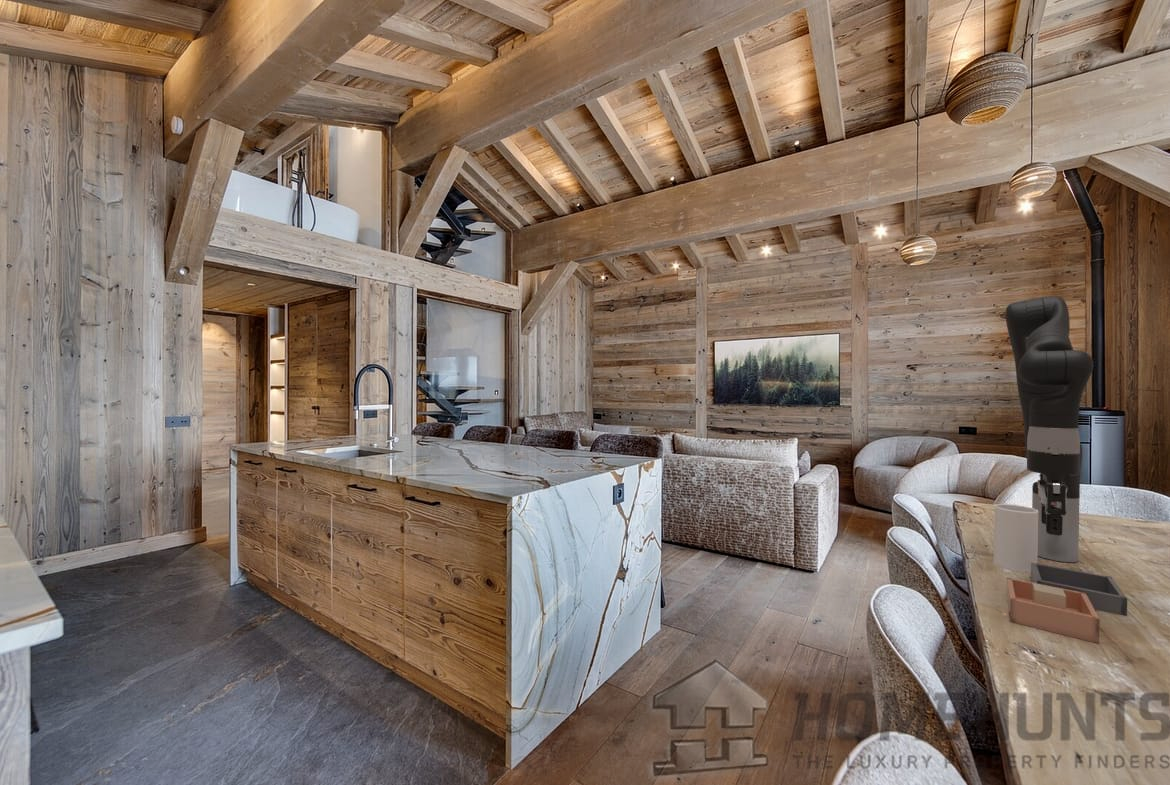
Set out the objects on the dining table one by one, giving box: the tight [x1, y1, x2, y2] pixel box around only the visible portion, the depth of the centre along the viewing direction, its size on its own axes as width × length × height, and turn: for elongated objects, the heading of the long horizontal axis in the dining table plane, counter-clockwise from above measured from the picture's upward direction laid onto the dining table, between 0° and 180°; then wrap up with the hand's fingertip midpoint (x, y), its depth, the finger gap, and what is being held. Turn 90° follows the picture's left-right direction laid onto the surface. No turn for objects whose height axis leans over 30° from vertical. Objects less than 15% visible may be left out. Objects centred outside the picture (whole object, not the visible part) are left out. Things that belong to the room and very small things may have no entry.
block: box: [1032, 582, 1066, 610], centre depth 94 cm, size 4×4×5 cm
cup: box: [993, 503, 1039, 573], centre depth 119 cm, size 8×8×16 cm
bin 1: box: [1006, 577, 1101, 644], centre depth 94 cm, size 14×12×4 cm
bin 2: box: [1030, 562, 1128, 617], centre depth 103 cm, size 14×13×4 cm
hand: (1051, 529), depth 94 cm, fingers open, 8 cm apart
